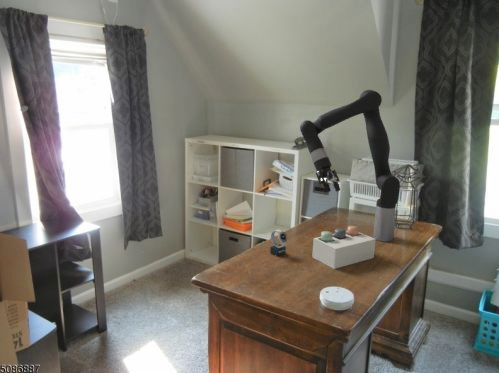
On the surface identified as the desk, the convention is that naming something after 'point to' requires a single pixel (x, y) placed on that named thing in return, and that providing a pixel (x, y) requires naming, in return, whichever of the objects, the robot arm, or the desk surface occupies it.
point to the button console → (344, 250)
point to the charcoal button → (340, 233)
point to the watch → (278, 248)
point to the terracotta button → (353, 231)
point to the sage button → (326, 236)
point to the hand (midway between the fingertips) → (333, 191)
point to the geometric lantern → (408, 190)
